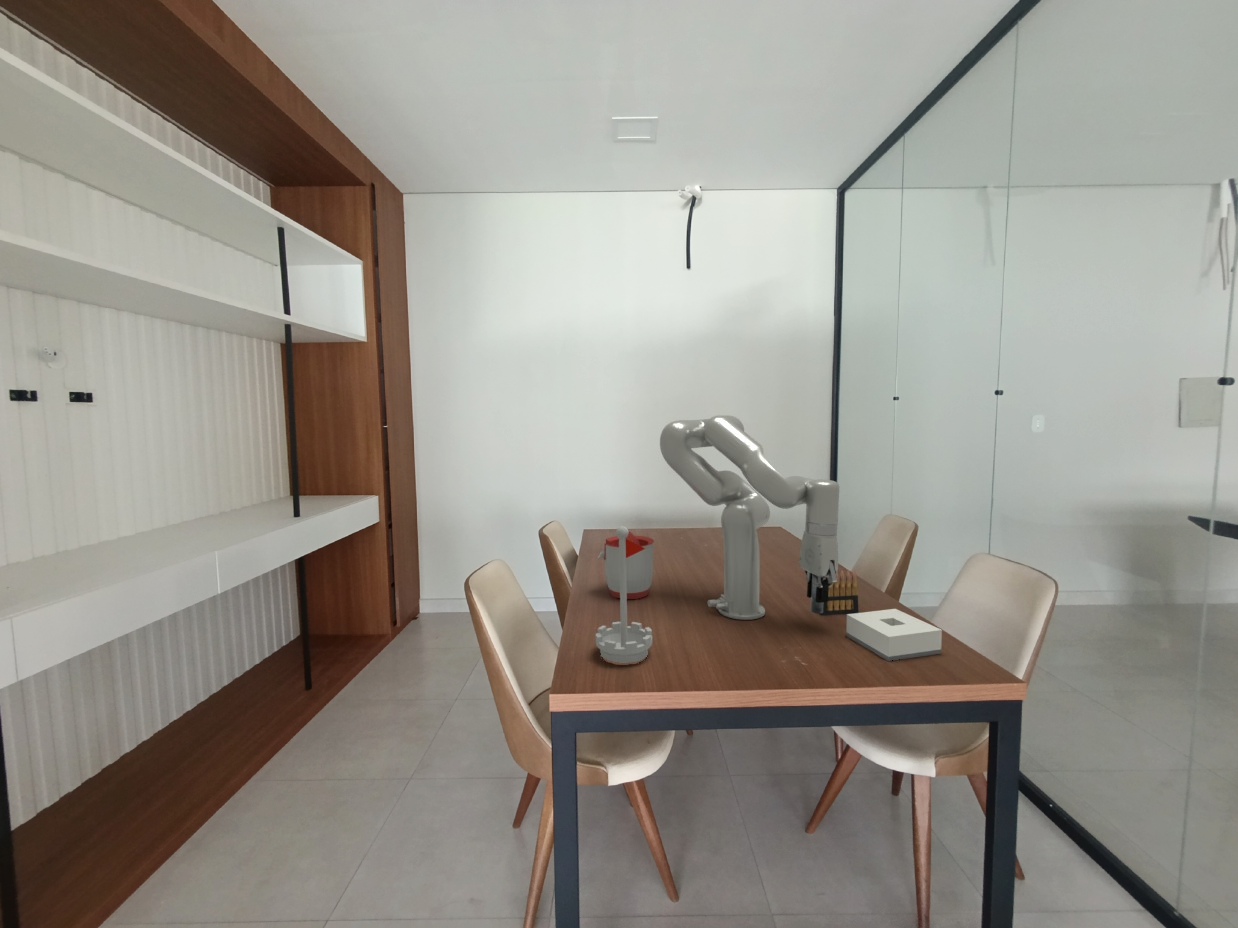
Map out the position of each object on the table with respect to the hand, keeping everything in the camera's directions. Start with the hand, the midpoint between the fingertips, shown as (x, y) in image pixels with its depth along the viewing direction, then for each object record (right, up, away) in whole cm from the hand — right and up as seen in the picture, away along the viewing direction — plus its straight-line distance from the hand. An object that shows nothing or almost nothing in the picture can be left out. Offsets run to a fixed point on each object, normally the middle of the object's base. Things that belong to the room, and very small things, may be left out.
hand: (817, 598), depth 133 cm
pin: (0, -3, 0) cm, 3 cm away
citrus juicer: (-48, -6, +29) cm, 57 cm away
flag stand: (-49, -10, -13) cm, 52 cm away
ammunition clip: (+10, -7, +10) cm, 16 cm away
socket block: (+14, -8, -10) cm, 19 cm away
